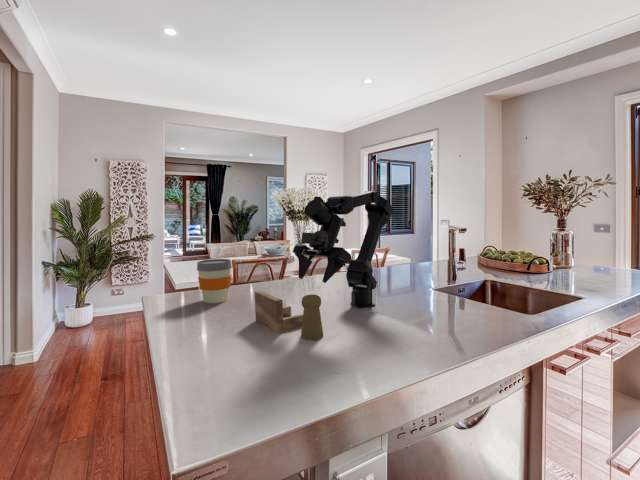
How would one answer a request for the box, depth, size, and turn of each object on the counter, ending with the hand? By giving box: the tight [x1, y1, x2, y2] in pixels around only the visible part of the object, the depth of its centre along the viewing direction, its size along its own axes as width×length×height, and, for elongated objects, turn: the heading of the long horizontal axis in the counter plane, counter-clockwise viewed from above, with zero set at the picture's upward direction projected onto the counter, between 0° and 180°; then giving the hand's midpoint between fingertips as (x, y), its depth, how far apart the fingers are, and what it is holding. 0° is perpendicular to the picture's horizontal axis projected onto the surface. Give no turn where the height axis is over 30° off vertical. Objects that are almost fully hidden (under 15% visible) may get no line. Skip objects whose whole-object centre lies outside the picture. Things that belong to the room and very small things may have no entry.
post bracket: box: [254, 290, 303, 334], centre depth 101 cm, size 11×14×9 cm
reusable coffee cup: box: [196, 258, 232, 304], centre depth 129 cm, size 12×13×15 cm
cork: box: [300, 294, 324, 341], centre depth 90 cm, size 6×6×11 cm
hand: (311, 280), depth 99 cm, fingers open, 9 cm apart
